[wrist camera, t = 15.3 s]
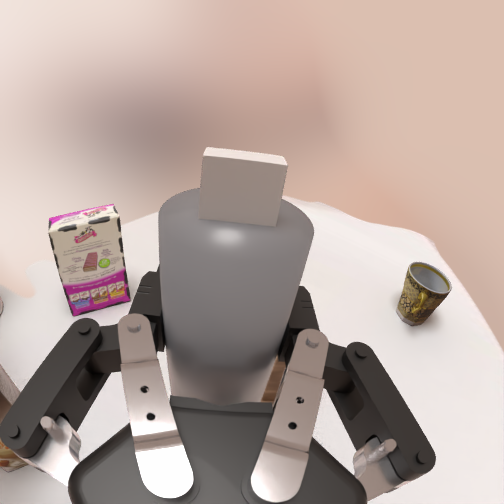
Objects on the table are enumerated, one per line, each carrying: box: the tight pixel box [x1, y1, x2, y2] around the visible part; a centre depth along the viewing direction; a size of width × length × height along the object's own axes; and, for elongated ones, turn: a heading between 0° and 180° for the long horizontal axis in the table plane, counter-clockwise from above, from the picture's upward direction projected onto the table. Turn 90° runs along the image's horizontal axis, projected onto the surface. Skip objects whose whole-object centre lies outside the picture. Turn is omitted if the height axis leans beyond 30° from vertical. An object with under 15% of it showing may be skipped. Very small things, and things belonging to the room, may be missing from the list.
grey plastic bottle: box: [158, 147, 314, 406], centre depth 13 cm, size 5×5×15 cm
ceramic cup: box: [396, 262, 452, 326], centre depth 52 cm, size 13×10×10 cm
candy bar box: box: [49, 204, 131, 316], centre depth 43 cm, size 11×5×16 cm, turn 124°
